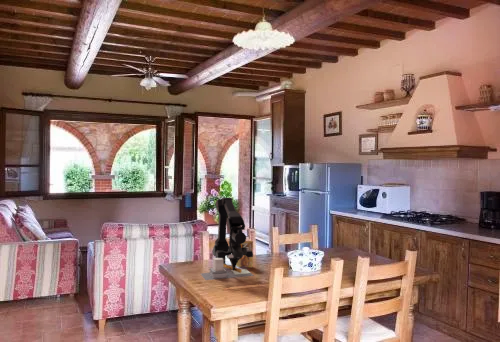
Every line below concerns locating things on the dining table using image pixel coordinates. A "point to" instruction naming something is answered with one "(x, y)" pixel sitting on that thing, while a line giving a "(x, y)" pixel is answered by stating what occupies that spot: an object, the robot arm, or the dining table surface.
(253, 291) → the dining table surface
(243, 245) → the candy box
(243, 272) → the socket board
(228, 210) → the robot arm
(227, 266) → the clip
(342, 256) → the dining table surface
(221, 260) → the plug
